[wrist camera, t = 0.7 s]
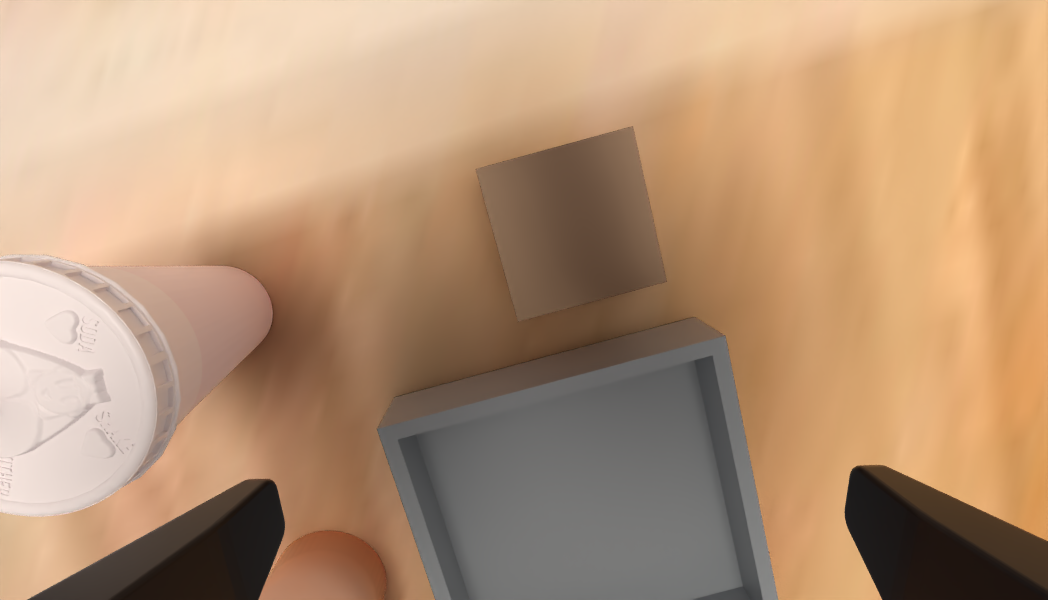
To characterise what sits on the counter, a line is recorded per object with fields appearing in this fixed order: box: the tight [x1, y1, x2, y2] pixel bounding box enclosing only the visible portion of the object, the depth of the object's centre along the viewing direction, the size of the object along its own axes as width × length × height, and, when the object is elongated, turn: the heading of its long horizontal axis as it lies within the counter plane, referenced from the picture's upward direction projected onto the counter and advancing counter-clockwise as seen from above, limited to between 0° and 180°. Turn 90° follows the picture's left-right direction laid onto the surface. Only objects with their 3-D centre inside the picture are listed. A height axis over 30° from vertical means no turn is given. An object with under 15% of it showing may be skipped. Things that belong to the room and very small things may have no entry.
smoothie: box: [0, 255, 273, 516], centre depth 15 cm, size 6×6×14 cm
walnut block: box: [476, 126, 667, 322], centre depth 19 cm, size 5×5×5 cm
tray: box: [377, 317, 778, 600], centre depth 22 cm, size 13×13×3 cm
